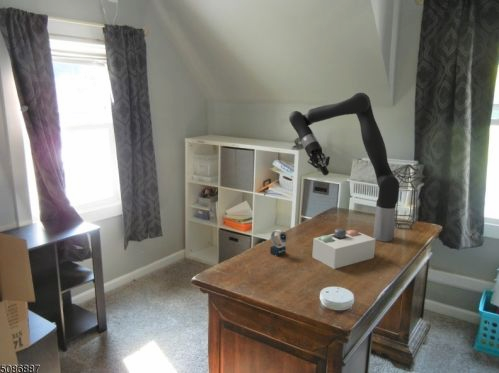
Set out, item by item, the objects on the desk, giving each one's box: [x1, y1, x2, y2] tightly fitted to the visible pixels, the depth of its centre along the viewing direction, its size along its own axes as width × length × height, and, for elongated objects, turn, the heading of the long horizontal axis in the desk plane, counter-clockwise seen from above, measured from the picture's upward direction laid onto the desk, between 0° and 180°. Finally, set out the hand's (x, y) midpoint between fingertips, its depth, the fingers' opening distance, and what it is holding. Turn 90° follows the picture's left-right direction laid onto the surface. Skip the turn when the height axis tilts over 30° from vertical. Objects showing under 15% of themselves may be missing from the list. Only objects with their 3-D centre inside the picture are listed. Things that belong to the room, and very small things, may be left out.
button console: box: [311, 230, 377, 270], centre depth 185 cm, size 24×14×9 cm, turn 122°
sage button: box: [320, 234, 332, 243], centre depth 182 cm, size 5×5×4 cm
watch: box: [269, 229, 288, 257], centre depth 187 cm, size 6×8×11 cm
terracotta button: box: [346, 229, 359, 237], centre depth 190 cm, size 5×5×4 cm
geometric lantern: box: [391, 164, 426, 230], centre depth 227 cm, size 16×16×35 cm
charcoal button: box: [333, 227, 347, 240], centre depth 186 cm, size 5×5×4 cm
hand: (326, 174), depth 197 cm, fingers closed
